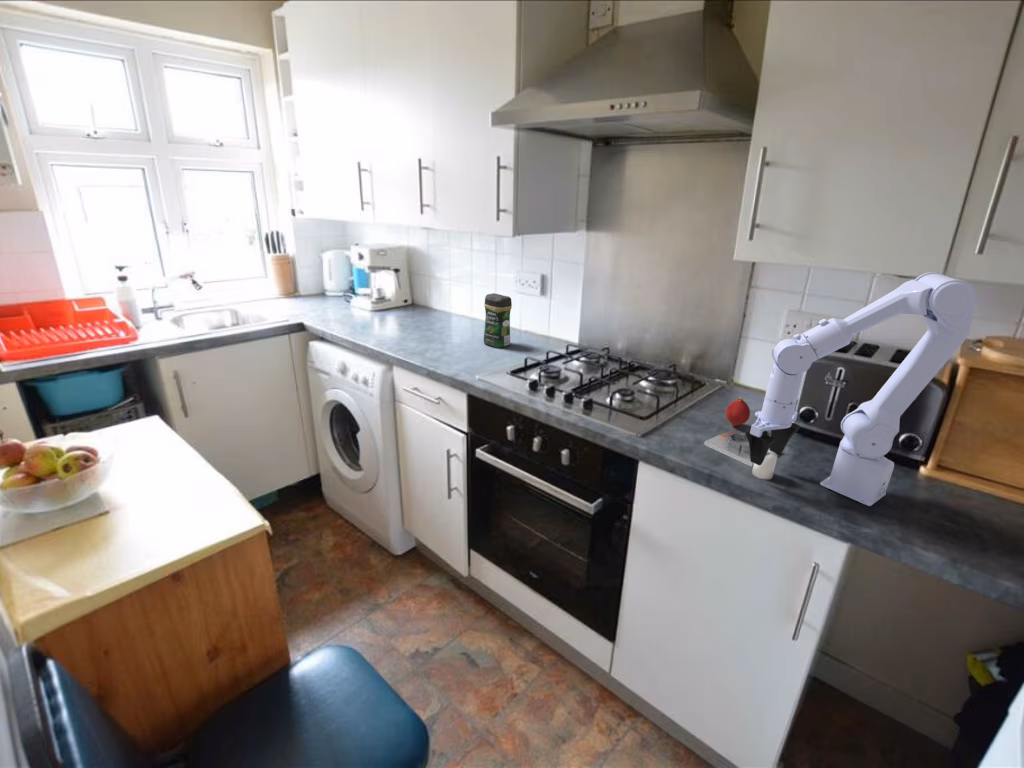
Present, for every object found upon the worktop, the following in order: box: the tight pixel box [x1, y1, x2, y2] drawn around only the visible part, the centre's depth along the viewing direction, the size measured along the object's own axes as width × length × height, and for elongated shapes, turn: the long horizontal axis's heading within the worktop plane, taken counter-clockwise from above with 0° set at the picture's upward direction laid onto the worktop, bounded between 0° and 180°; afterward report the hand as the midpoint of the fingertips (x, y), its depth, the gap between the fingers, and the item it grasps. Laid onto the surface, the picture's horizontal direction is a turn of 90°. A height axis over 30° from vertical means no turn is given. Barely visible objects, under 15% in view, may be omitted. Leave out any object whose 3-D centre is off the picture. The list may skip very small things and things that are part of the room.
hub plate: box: [703, 428, 770, 468], centre depth 121 cm, size 12×12×2 cm
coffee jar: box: [483, 292, 513, 349], centre depth 188 cm, size 10×8×19 cm
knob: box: [751, 450, 778, 480], centre depth 110 cm, size 4×4×5 cm
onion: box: [724, 396, 751, 427], centre depth 132 cm, size 6×6×8 cm
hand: (765, 458), depth 110 cm, fingers open, 7 cm apart
